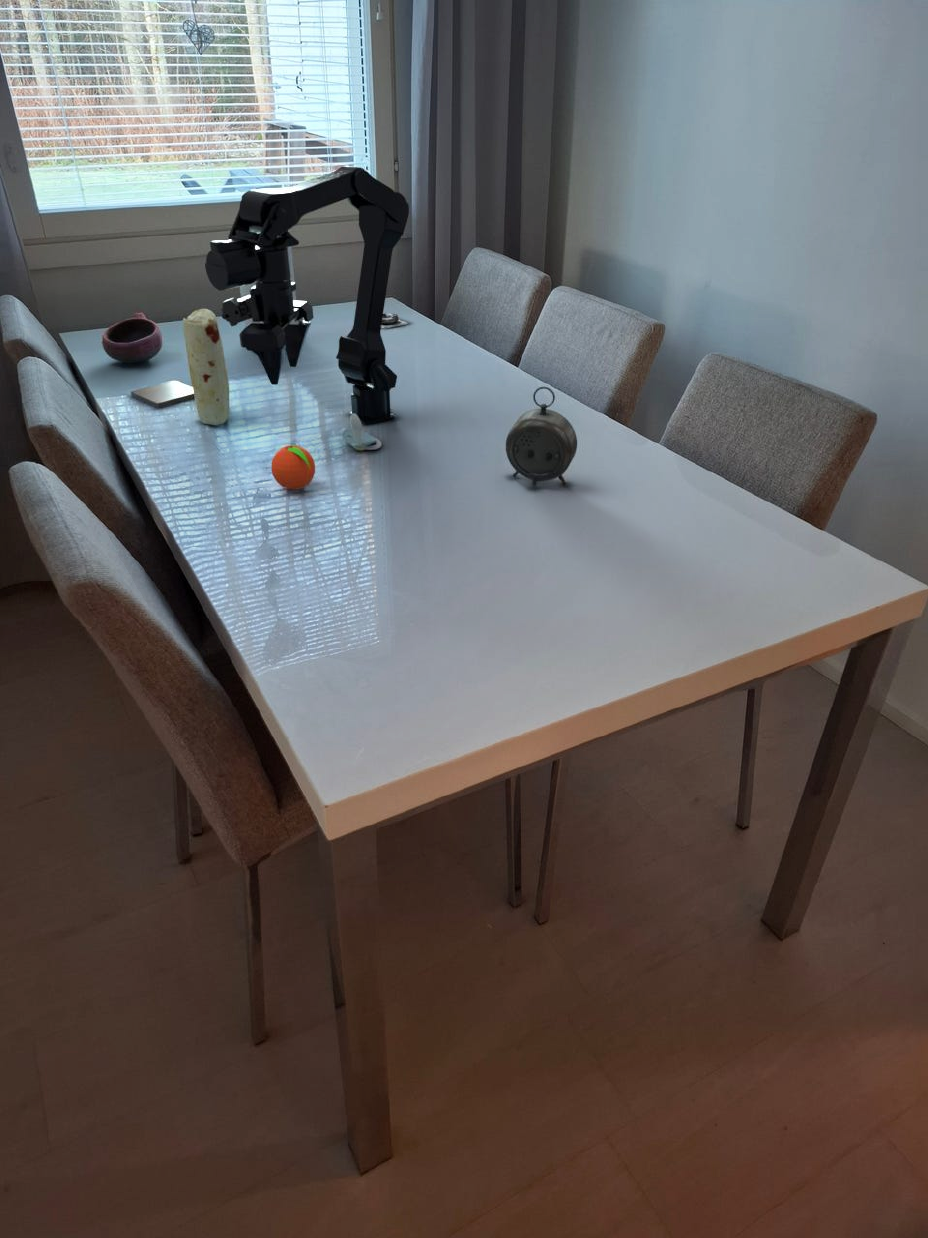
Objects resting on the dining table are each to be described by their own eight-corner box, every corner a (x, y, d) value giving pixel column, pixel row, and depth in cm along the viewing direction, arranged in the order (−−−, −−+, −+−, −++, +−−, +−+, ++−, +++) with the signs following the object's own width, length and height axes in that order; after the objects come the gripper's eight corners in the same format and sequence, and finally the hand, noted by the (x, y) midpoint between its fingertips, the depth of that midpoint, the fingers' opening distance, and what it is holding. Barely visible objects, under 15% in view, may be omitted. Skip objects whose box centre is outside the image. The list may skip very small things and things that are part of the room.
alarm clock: (574, 482, 142) (582, 385, 133) (566, 495, 138) (574, 396, 129) (510, 472, 145) (514, 377, 136) (501, 485, 141) (504, 387, 132)
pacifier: (369, 436, 158) (339, 442, 155) (368, 403, 155) (337, 408, 152) (388, 450, 153) (357, 456, 150) (388, 416, 150) (356, 421, 147)
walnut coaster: (175, 384, 181) (174, 379, 180) (202, 395, 175) (201, 390, 175) (131, 396, 175) (130, 391, 174) (158, 408, 169) (157, 403, 169)
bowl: (173, 363, 192) (167, 326, 188) (114, 373, 186) (106, 335, 182) (152, 345, 204) (145, 310, 199) (96, 354, 198) (87, 318, 193)
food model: (236, 427, 161) (220, 317, 150) (199, 431, 159) (181, 320, 148) (231, 409, 169) (216, 303, 158) (196, 412, 167) (178, 305, 156)
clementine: (330, 489, 139) (326, 447, 135) (295, 503, 135) (291, 460, 131) (299, 474, 144) (295, 434, 140) (264, 487, 140) (259, 446, 136)
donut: (365, 321, 222) (364, 313, 220) (389, 316, 226) (389, 308, 225) (383, 328, 216) (383, 320, 215) (409, 323, 220) (408, 315, 219)
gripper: (246, 263, 147) (258, 355, 155) (200, 290, 131) (216, 391, 140) (309, 266, 145) (318, 359, 154) (270, 294, 130) (282, 395, 139)
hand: (284, 375), depth 147 cm, fingers open, 9 cm apart
